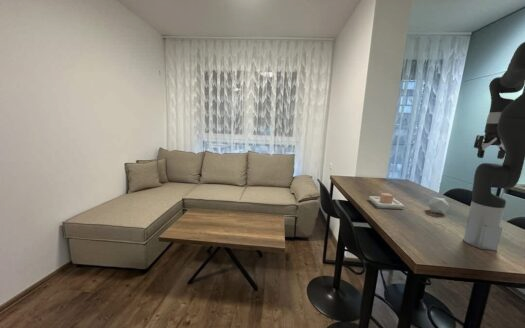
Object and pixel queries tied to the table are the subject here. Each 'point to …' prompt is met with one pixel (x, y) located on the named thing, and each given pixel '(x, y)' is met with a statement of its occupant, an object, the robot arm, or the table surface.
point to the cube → (386, 198)
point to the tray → (379, 204)
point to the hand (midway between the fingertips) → (490, 158)
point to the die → (438, 205)
